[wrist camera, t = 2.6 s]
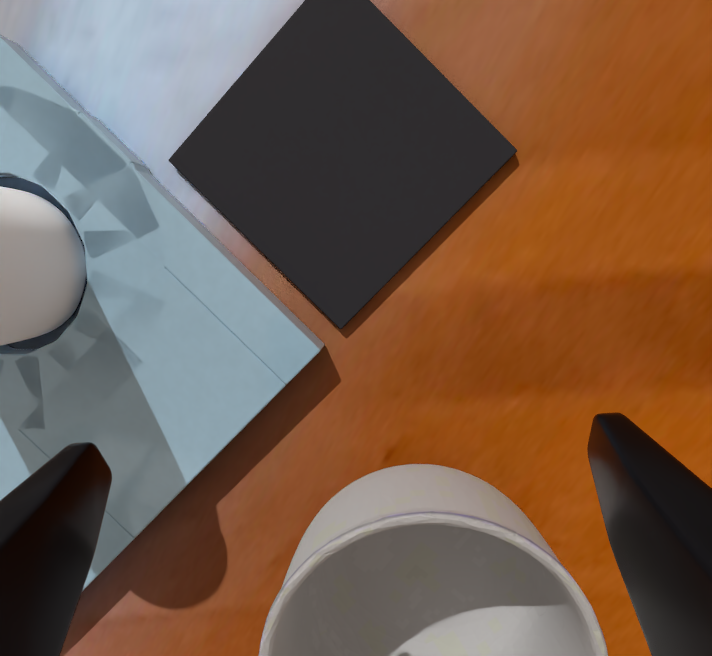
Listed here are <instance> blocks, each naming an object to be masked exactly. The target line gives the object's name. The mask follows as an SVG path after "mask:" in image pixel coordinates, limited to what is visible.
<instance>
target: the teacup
mask: <svg viewBox="0 0 712 656" xmlns="http://www.w3.org/2000/svg"><path fill="white" fill-rule="evenodd" d="M258 656H608V653H607V648H606V642H605V639H604V636H603V633H602V630H601V628H600V625H599V623H598V621H597V618H596V615H595V613H594V611H593V609H592V607H591V605H590V603H589V601H588V599H587V598H586V596H585V595H584V593H583V592H582V590H581V589H580V587H579V586H578V584H577V583H576V582H575V580H574V579H573V578H572V576H571V575H570V574H569V572H568V571H567V570H566V569H565V568H564V567H563V566H562V564H561V563H560V562H559V560H558V559H557V557H556V556H555V554H554V553H553V551H552V550H551V548H550V547H549V546H548V544H547V543H546V541H545V540H544V538H543V537H542V535H541V534H540V533H539V531H538V530H537V529H536V528H535V526H534V525H533V524H532V522H531V521H530V520H529V519H528V517H527V516H526V515H525V514H524V513H523V512H522V511H521V510H520V508H519V507H517V506H516V505H515V504H514V503H513V502H512V501H511V500H510V499H509V498H508V497H506V496H505V495H504V494H503V493H501V492H500V491H499V490H497V489H496V488H495V487H493V486H492V485H490V484H489V483H487V482H485V481H483V480H481V479H479V478H477V477H475V476H473V475H470V474H468V473H466V472H463V471H460V470H456V469H453V468H449V467H444V466H439V465H431V464H408V465H400V466H393V467H389V468H385V469H382V470H379V471H376V472H373V473H370V474H368V475H366V476H364V477H362V478H360V479H358V480H356V481H354V482H352V483H351V484H349V485H348V486H346V487H345V488H343V489H342V490H341V491H340V492H338V493H337V494H336V495H335V496H334V497H332V498H331V499H330V500H329V501H328V502H327V503H326V504H325V505H324V506H323V507H322V509H321V510H320V511H319V513H318V514H317V515H316V516H315V518H314V519H313V521H312V522H311V524H310V525H309V527H308V528H307V530H306V532H305V533H304V535H303V537H302V539H301V541H300V543H299V546H298V548H297V550H296V552H295V554H294V556H293V559H292V561H291V564H290V566H289V569H288V571H287V574H286V577H285V580H284V583H283V586H282V588H281V590H280V592H279V593H278V595H277V597H276V599H275V600H274V602H273V604H272V606H271V609H270V611H269V614H268V616H267V619H266V623H265V626H264V630H263V634H262V639H261V643H260V651H259V655H258Z"/></svg>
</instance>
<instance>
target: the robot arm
mask: <svg viewBox="0 0 712 656" xmlns="http://www.w3.org/2000/svg"><path fill="white" fill-rule="evenodd" d="M588 458H589V462H590V466H591V470H592V474H593V478H594V482H595V486H596V490H597V494H598V498H599V502H600V506H601V510H602V514H603V518H604V522H605V526H606V530H607V534H608V538H609V541H610V544H611V547H612V550H613V553H614V556H615V559H616V561H617V564H618V567H619V569H620V572H621V575H622V577H623V580H624V583H625V585H626V588H627V591H628V593H629V596H630V599H631V601H632V604H633V606H634V609H635V612H636V614H637V617H638V620H639V622H640V625H641V628H642V630H643V633H644V636H645V638H646V641H647V644H648V646H649V649H650V652H651V654H652V656H712V488H710V487H709V486H708V485H707V484H706V483H704V482H703V481H702V480H701V479H700V478H698V477H697V476H696V475H695V474H694V473H692V472H691V471H690V470H689V469H688V468H687V467H685V466H684V465H683V464H682V463H681V462H679V461H678V460H677V459H676V458H675V457H673V456H672V455H671V454H670V453H669V452H667V451H666V450H665V449H664V448H663V447H661V446H660V445H659V444H658V443H657V442H656V441H654V440H653V439H652V438H651V437H650V436H648V435H647V434H646V433H645V432H644V431H642V430H641V429H640V428H639V427H638V426H636V425H635V424H634V423H633V422H632V421H630V420H629V419H628V418H627V417H626V416H624V415H623V414H621V413H602V414H597V415H595V417H594V419H593V423H592V427H591V432H590V437H589V442H588ZM111 483H112V472H111V469H110V467H109V465H108V464H107V462H106V460H105V459H104V457H103V456H102V454H101V452H100V451H99V449H98V447H97V446H96V445H95V444H94V443H92V442H82V443H72V444H69V445H67V446H66V447H65V448H63V449H62V450H61V451H60V452H59V453H57V454H56V455H55V456H54V457H53V458H51V459H50V460H49V461H48V462H46V463H45V464H44V465H43V466H42V467H40V468H39V469H38V470H37V471H35V472H34V473H33V474H32V475H31V476H29V477H28V478H27V479H26V480H24V481H23V482H22V483H21V484H20V485H18V486H17V487H16V488H15V489H13V490H12V491H11V492H10V493H9V494H7V495H6V496H5V497H4V498H3V499H1V500H0V656H60V653H61V650H62V647H63V644H64V641H65V639H66V636H67V633H68V630H69V627H70V624H71V621H72V619H73V616H74V613H75V610H76V607H77V604H78V601H79V599H80V596H81V593H82V590H83V587H84V584H85V581H86V579H87V576H88V573H89V570H90V567H91V564H92V560H93V557H94V553H95V550H96V546H97V542H98V538H99V533H100V529H101V525H102V521H103V517H104V512H105V508H106V504H107V500H108V496H109V491H110V487H111Z"/></svg>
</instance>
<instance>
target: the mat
mask: <svg viewBox="0 0 712 656" xmlns="http://www.w3.org/2000/svg"><path fill="white" fill-rule="evenodd" d="M516 152H517V150H516V149H515V148H514V147H513V146H512V145H511V144H510V143H509V142H508V140H507V139H506V138H505V137H504V136H503V135H502V134H501V133H500V132H499V131H498V130H497V129H496V128H495V127H494V126H493V125H492V124H491V123H490V122H489V121H488V120H487V119H486V118H485V117H484V116H483V115H482V114H481V113H480V112H479V111H478V110H477V109H476V108H475V107H474V106H473V105H472V104H471V103H470V102H469V101H468V100H467V99H466V98H465V97H464V96H463V95H462V94H461V93H460V92H459V91H458V90H457V89H456V88H455V87H454V86H453V85H452V84H451V83H450V82H449V81H448V80H447V79H446V78H445V77H444V75H443V74H442V73H441V72H440V71H439V70H438V69H437V68H436V67H435V66H434V65H433V64H432V63H431V62H430V61H429V60H428V59H427V58H426V57H425V56H424V55H423V54H422V53H421V52H420V51H419V50H418V49H417V48H416V47H415V46H414V45H413V44H412V43H411V42H410V41H409V40H408V39H407V38H406V37H405V36H404V35H403V34H402V33H401V32H400V31H399V30H398V29H397V28H396V27H395V26H394V25H393V24H392V23H391V22H390V21H389V20H388V19H387V18H386V17H385V16H384V15H383V14H382V13H381V12H380V10H379V9H378V8H377V7H376V6H375V5H374V4H373V3H372V2H371V1H370V0H305V1H304V2H303V4H302V5H301V6H300V7H299V8H298V9H297V11H296V12H295V13H294V14H293V15H292V16H291V18H290V19H289V20H288V21H287V22H286V23H285V25H284V26H283V27H282V28H281V29H280V30H279V32H278V33H277V34H276V35H275V36H274V37H273V39H272V40H271V41H270V42H269V43H268V44H267V46H266V47H265V48H264V49H263V50H262V51H261V53H260V54H259V55H258V56H257V57H256V58H255V60H254V61H253V62H252V63H251V64H250V65H249V67H248V68H247V69H246V70H245V71H244V72H243V74H242V75H241V76H240V77H239V78H238V79H237V81H236V82H235V83H234V84H233V85H232V86H231V88H230V89H229V90H228V91H227V92H226V93H225V95H224V96H223V97H222V98H221V99H220V100H219V102H218V103H217V104H216V105H215V106H214V107H213V109H212V110H211V111H210V112H209V113H208V114H207V116H206V117H205V118H204V119H203V120H202V121H201V123H200V124H199V125H198V126H197V127H196V129H195V130H194V131H193V132H192V133H191V134H190V136H189V137H188V138H187V139H186V140H185V141H184V143H183V144H182V145H181V146H180V147H179V148H178V150H177V151H176V152H175V153H174V154H173V155H172V157H171V158H170V159H169V161H170V162H171V163H172V164H173V165H174V166H175V167H176V168H177V169H178V170H179V171H180V172H181V173H182V174H183V175H184V176H185V177H186V178H187V179H188V180H189V181H190V182H191V183H192V184H193V185H194V186H195V187H196V188H197V189H198V190H199V191H200V192H201V193H202V194H203V195H204V196H205V197H206V198H207V199H208V200H209V201H210V202H211V203H212V204H213V205H214V206H215V207H216V208H217V209H218V210H219V211H221V212H222V213H223V214H224V215H225V216H226V217H227V218H228V219H229V220H230V221H231V222H232V223H233V224H234V225H235V226H236V227H237V228H238V229H239V230H240V231H241V232H242V233H243V234H244V235H245V236H246V237H247V238H248V239H249V240H250V241H251V242H252V243H253V244H254V245H255V246H256V247H257V248H258V249H259V250H260V251H261V252H262V253H263V254H264V255H265V256H266V257H267V258H268V259H269V260H270V261H271V262H272V263H273V264H275V265H276V266H277V267H278V268H279V269H280V270H281V271H282V272H283V273H284V274H285V275H286V276H287V277H288V278H289V279H290V280H291V281H292V282H293V283H294V284H295V285H296V286H297V287H298V288H299V289H300V290H301V291H302V292H303V293H304V294H305V295H306V296H307V297H308V298H309V299H310V300H311V301H312V302H313V303H314V304H315V305H316V306H317V307H318V308H319V309H320V310H321V311H322V312H323V313H324V314H325V315H326V316H327V317H329V318H330V319H331V320H332V321H333V322H334V323H335V324H336V325H337V326H338V327H339V328H340V329H342V328H343V327H344V326H345V325H346V324H347V323H348V322H349V321H350V320H351V319H352V318H353V317H354V316H355V315H356V314H357V313H358V312H359V311H360V310H361V309H362V308H363V307H364V306H365V305H366V304H367V303H368V302H369V301H370V300H371V299H372V298H373V296H374V295H375V294H376V293H377V292H378V291H379V290H380V289H381V288H382V287H383V286H384V285H385V284H386V283H387V282H388V281H389V280H390V279H391V278H392V277H393V276H394V275H395V274H396V273H397V272H398V271H399V270H400V269H401V268H402V267H403V266H404V265H405V264H406V263H407V262H408V261H409V260H410V259H411V258H412V257H413V256H414V255H415V254H416V253H417V252H418V251H419V250H420V249H421V248H422V247H423V246H424V245H425V244H426V243H427V242H428V241H429V240H430V239H431V238H432V237H433V236H434V235H435V234H436V233H437V232H438V231H439V230H440V229H441V228H442V227H443V226H444V225H445V224H446V223H447V222H448V221H449V220H450V219H451V218H452V217H453V216H454V215H455V214H456V213H457V212H458V211H459V210H460V209H461V208H462V207H463V206H464V204H465V203H466V202H467V201H468V200H469V199H470V198H471V197H472V196H473V195H474V194H475V193H476V192H477V191H478V190H479V189H480V188H481V187H482V186H483V185H484V184H485V183H486V182H487V181H488V180H489V179H490V178H491V177H492V176H493V175H494V174H495V173H496V172H497V171H498V170H499V169H500V168H501V167H502V166H503V165H504V164H505V163H506V162H507V161H508V160H509V159H510V158H511V157H512V156H513V155H514V154H515V153H516Z"/></svg>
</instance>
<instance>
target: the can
mask: <svg viewBox="0 0 712 656" xmlns="http://www.w3.org/2000/svg"><path fill="white" fill-rule="evenodd" d="M85 280H86V259H85V253H84V249H83V246H82V243H81V240H80V238H79V236H78V234H77V232H76V230H75V228H74V227H73V225H72V224H71V222H70V221H69V220H68V218H67V217H66V216H65V215H64V214H63V213H62V212H61V211H60V210H59V209H58V208H57V207H56V206H54V205H53V204H52V203H50V202H49V201H47V200H46V199H44V198H42V197H40V196H38V195H35V194H32V193H29V192H26V191H22V190H17V189H12V188H6V187H0V346H1V345H5V344H9V343H14V342H18V341H22V340H26V339H30V338H34V337H37V336H41V335H43V334H46V333H48V332H51V331H53V330H54V329H56V328H58V327H59V326H60V325H62V324H63V323H64V322H66V321H67V320H68V319H69V318H70V317H71V316H72V314H73V313H74V311H75V310H76V308H77V306H78V304H79V302H80V299H81V297H82V293H83V290H84V285H85Z"/></svg>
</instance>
